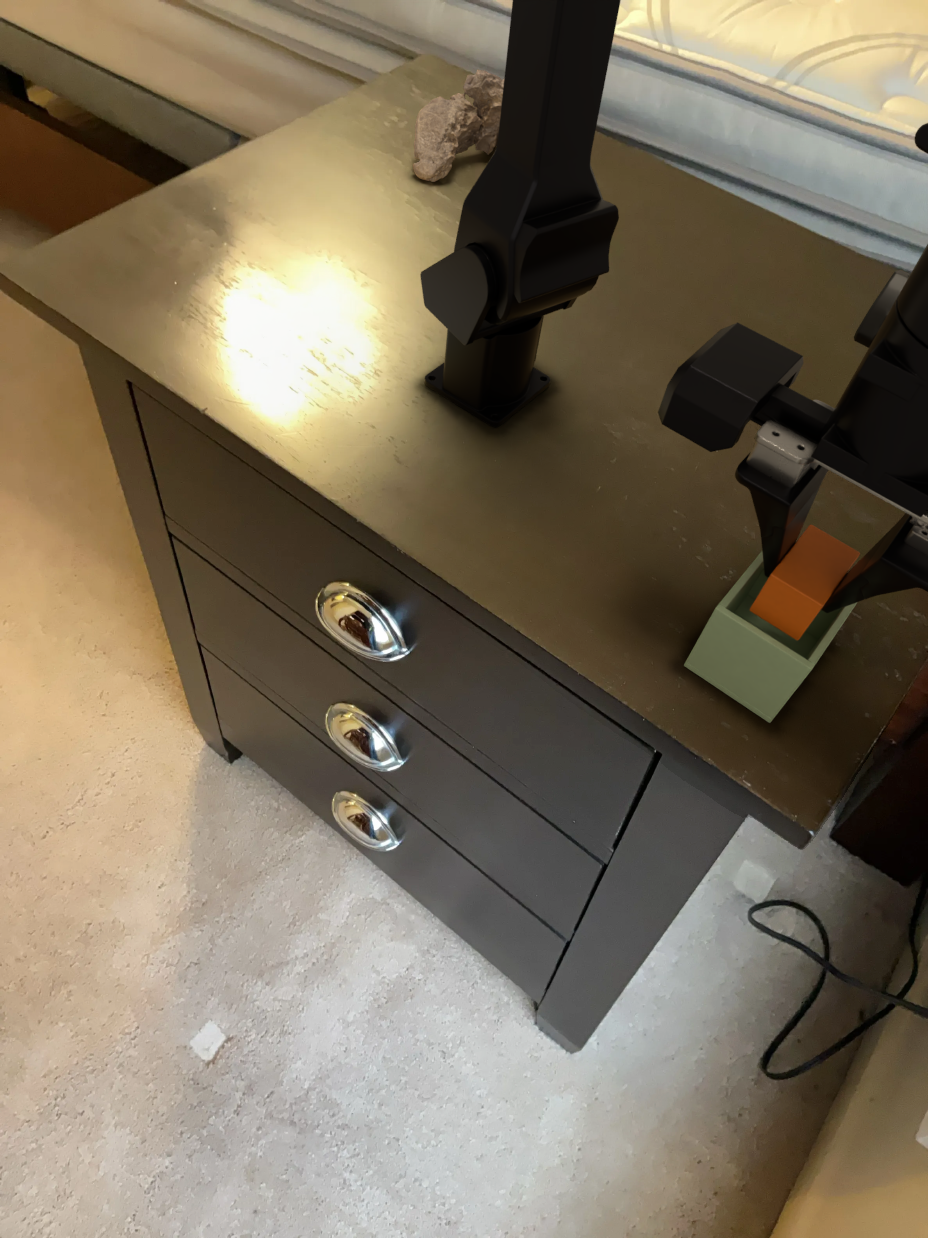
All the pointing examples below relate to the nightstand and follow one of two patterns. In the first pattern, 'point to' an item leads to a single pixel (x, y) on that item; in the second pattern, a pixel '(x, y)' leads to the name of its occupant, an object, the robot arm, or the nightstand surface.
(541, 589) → the nightstand surface
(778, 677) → the trash bin
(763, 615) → the orange block
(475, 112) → the rock
